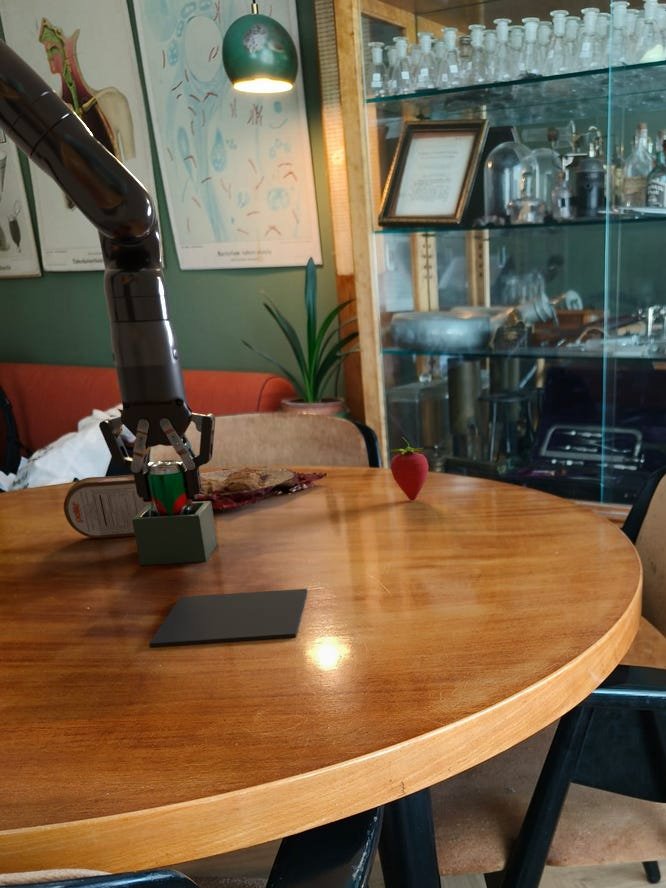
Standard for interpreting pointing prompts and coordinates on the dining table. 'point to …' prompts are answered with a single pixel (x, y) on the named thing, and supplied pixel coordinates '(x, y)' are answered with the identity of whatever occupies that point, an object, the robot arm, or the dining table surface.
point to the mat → (232, 618)
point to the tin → (103, 506)
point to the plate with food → (249, 484)
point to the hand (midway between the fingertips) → (170, 498)
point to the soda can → (168, 488)
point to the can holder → (175, 536)
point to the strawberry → (409, 470)
